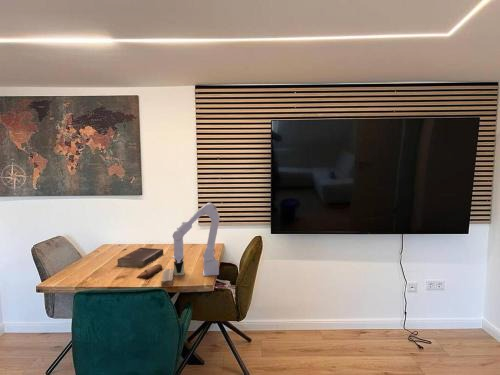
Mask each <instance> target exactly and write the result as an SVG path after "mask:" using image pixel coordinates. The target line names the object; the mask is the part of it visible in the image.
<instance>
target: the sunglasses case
mask: <svg viewBox="0 0 500 375" xmlns="http://www.w3.org/2000/svg"><path fill="white" fill-rule="evenodd" d="M160 270H163V265H162V264H160V263H158V264H155V265H152V266H150V267H148V268H146V269H144V271H142V272H141V273H140V274H138V275H137V276H136V279H140V280H141V279H143V280H148V279H150V278H151V277H152V276H153V275H155V274H157V273H158V272H159V271H160Z"/></svg>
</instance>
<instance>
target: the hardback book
mask: <svg viewBox="0 0 500 375" xmlns="http://www.w3.org/2000/svg"><path fill="white" fill-rule="evenodd" d="M163 255H164V249H163V248H151V247H139V248H136V249H135V250H134V251H131V252H129V253H126V255H124V256H123V255H122V256H121V257H119V258H117V267H127V268H128V267H131V268H132V267H133V268H145V267H146V266H148V265H149V264H151V263H153V262H154V261H156V260H157V259H159V258H160V257H162V256H163Z"/></svg>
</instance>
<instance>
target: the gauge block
mask: <svg viewBox="0 0 500 375" xmlns="http://www.w3.org/2000/svg"><path fill="white" fill-rule="evenodd" d="M174 262H175V261H173V269H174V270H173V272H174V273H173V276H174V275H175V276H184V275H185V261H184V260H183V265H182V269H181V273H177V270H176V266H175V264H174ZM181 262H182V261H181Z"/></svg>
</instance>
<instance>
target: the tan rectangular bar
mask: <svg viewBox="0 0 500 375" xmlns="http://www.w3.org/2000/svg"><path fill="white" fill-rule="evenodd" d="M162 270H163V271H162V275H161V284H160V285H161V286H162V287H163V286H171V285H173V282H174V272H173V270H174V268H166V269H165V268H164V269H162Z"/></svg>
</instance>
